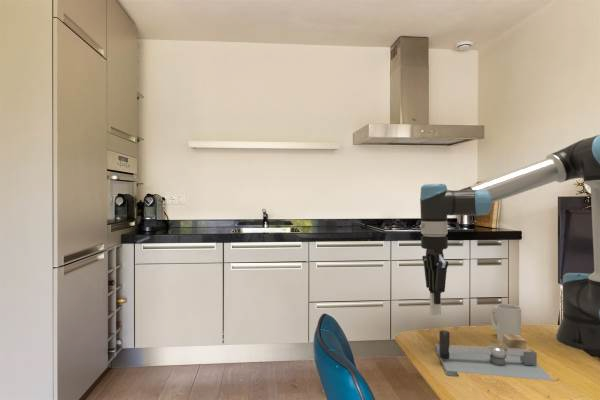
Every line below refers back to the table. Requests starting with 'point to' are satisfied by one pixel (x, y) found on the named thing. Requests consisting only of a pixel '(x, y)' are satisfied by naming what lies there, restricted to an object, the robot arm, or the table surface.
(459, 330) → the table surface
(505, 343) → the block
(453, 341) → the table surface
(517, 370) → the base
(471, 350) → the lever
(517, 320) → the mug
